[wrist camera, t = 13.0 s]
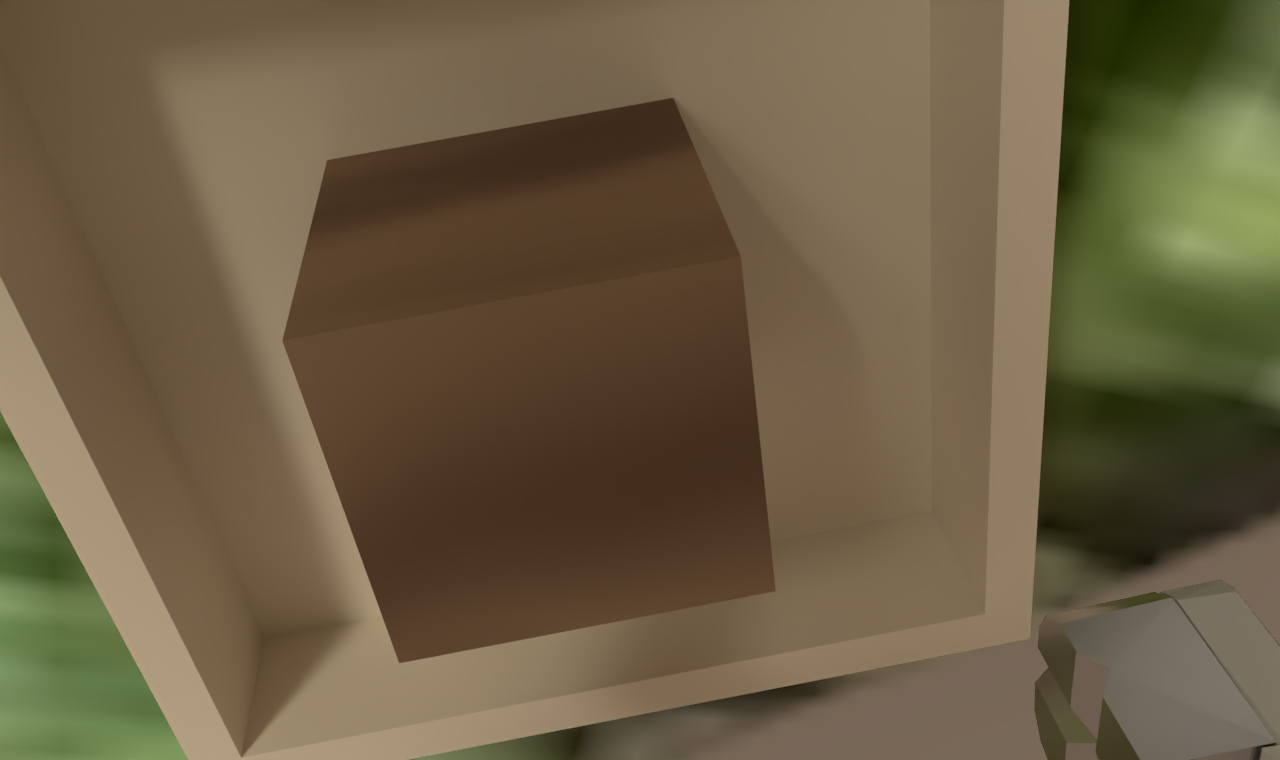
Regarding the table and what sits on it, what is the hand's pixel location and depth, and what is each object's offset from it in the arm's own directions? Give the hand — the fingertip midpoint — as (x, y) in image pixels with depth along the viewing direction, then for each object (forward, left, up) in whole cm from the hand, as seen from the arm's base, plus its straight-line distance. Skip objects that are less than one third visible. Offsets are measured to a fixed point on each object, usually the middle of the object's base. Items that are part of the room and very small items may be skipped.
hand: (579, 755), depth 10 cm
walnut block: (+1, 0, -10) cm, 10 cm away
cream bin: (+1, 0, -10) cm, 10 cm away
